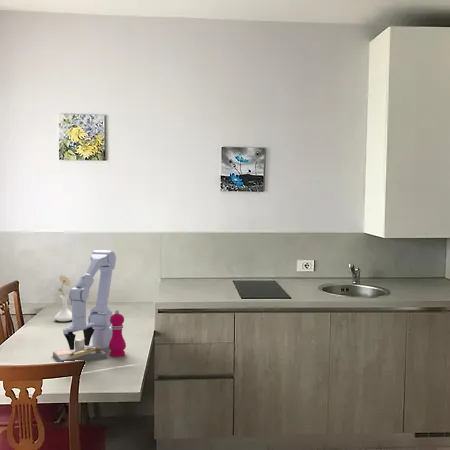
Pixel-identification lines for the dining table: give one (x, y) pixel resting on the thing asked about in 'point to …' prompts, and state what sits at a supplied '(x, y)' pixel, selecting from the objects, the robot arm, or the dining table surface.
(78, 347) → the plug
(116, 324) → the pepper mill
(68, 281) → the flower in vase
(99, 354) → the socket block
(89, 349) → the bar
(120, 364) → the dining table surface
